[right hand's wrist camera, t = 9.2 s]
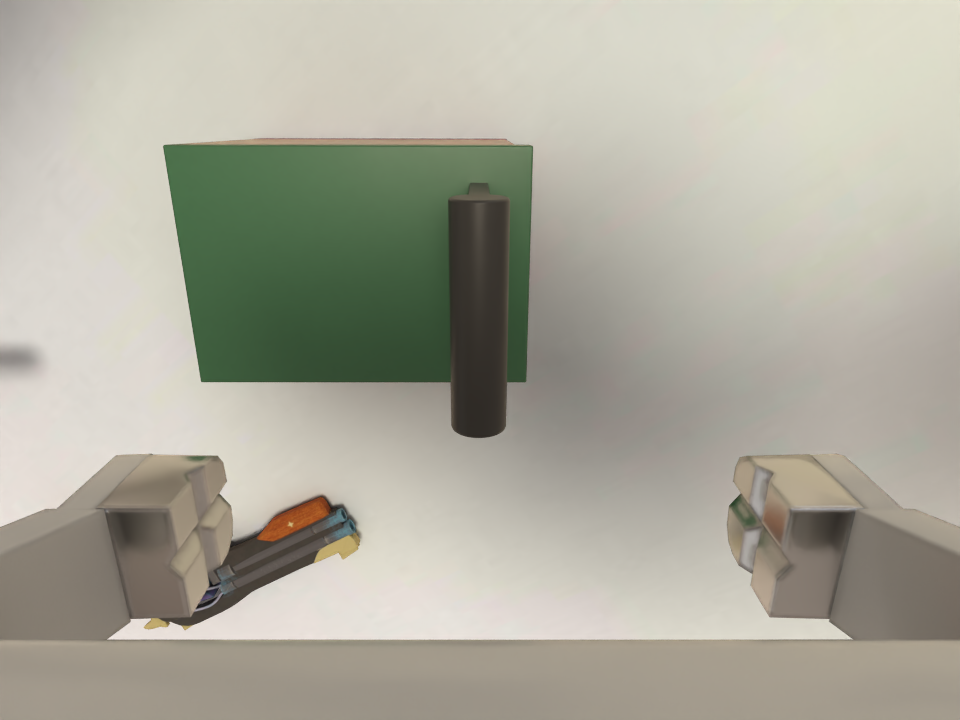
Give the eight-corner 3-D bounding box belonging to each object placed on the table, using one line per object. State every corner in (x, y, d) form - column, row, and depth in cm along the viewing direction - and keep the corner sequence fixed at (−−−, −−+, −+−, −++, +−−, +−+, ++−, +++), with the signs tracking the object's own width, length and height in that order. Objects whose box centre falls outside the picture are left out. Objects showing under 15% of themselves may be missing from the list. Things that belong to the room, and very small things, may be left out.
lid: (530, 144, 25) (555, 154, 17) (524, 372, 28) (542, 472, 20) (176, 144, 25) (30, 153, 17) (211, 372, 28) (103, 472, 20)
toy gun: (24, 553, 41) (112, 674, 43) (282, 425, 39) (361, 557, 41) (52, 533, 43) (133, 648, 45) (294, 412, 42) (368, 536, 44)
